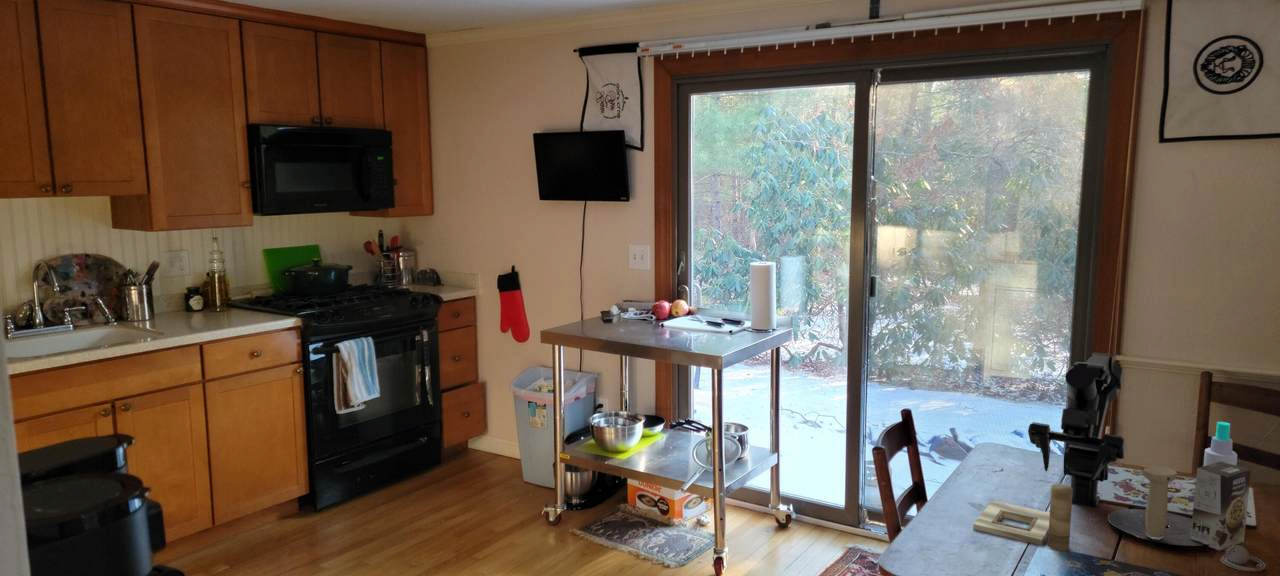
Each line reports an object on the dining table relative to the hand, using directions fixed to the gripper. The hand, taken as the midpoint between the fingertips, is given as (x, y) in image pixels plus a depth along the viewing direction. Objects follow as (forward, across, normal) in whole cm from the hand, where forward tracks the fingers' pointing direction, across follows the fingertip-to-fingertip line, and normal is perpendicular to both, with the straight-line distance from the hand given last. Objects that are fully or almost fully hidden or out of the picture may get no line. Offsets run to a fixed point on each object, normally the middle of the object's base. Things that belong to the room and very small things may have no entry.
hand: (1068, 474), depth 187 cm
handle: (+4, +16, +15) cm, 23 cm away
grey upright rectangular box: (0, +27, +20) cm, 33 cm away
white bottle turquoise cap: (-10, +26, +30) cm, 41 cm away
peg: (+15, 0, +4) cm, 16 cm away
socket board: (+10, -10, +9) cm, 17 cm away
